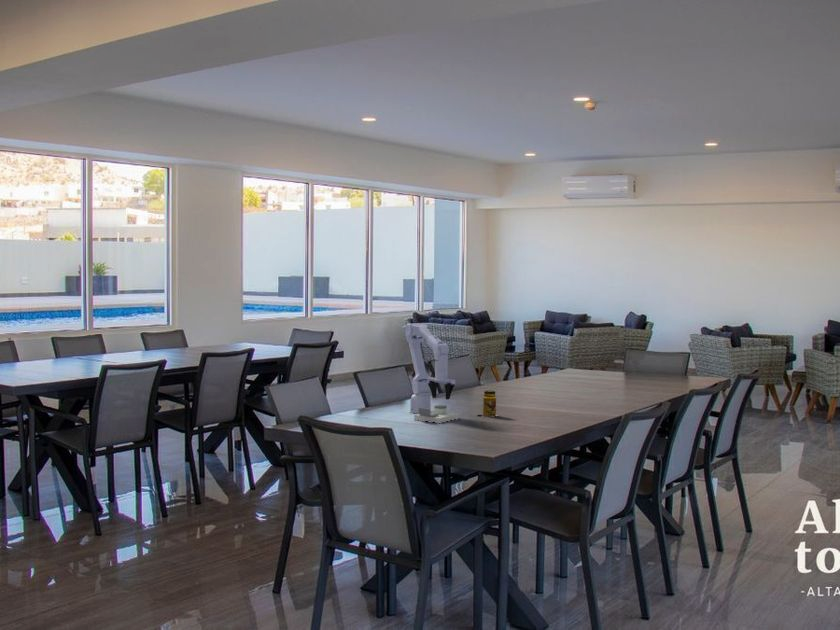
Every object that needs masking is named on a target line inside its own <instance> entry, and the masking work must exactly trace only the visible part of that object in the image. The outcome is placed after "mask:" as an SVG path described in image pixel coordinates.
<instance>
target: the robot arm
mask: <svg viewBox="0 0 840 630" xmlns="http://www.w3.org/2000/svg"><path fill="white" fill-rule="evenodd" d="M428 327H429V326H428V325H427V324H426V322H421V323H416V322H413V323H410V322H409V323H406V325H405V328H404V336H405V339H406V342H407V343H408V346H409V351H410V355H411V360H412V365H413V369H414V372H415V373H414V374H415V376H414V377H413V379H412V380H411V384H412V385H411V389H412V393H413V394H412V395H411V397H410V408H409V409H410V411H409V413H410V414H415V415H416V414H419V408H426V409H431V410H432V407H431V405H432V402H431V401H432V400H431V399H432V398H433V399H434V398H437V393H438V392H437V390H438V385H439V384H440V383H441V384H444V390H445V400H450V398H451V395H452V392H453V390H454V388H455V386H456V379H452V378H448V375H449V374H448V372H449V371H448V366H449V365H448V363H449V359H448V358H449V356H450V354H451V347H450V344H449V343H448V342H443V340H441V339H440V338H439V337H438V336H437V334H436V335H435V334H434V335H433V334H432V333H431V331H430V330H429V329H428ZM424 340H426V343H427V345H428V346H429V348H431V350H432V353H433V358H434V360H435V361H434V362H435V370H434V371H435V372H434V373H435V375H434V377H432V376H430V375H429V374H427V370H426V367H425V362H424V358H423V354H422V348H421V342H423V341H424Z"/></svg>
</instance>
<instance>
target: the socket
mask: <svg viewBox="0 0 840 630" xmlns="http://www.w3.org/2000/svg"><path fill="white" fill-rule="evenodd" d="M431 412H432V413H435V410H431ZM413 416H414V417H413V420H414V421H417V420H420V421H419V422H425V421H428V422H427V423H432V422H435V423H434V424H439V423H440V424H443V423H442V422H444V423H447V422H446V421H448V422H451V421H450V420H452V421H455V420H454V419H456V420H459V419H460V413H456V412H450V411H447V412H446V414H443V415H440V414H439V415H438V416H433V417H427V416H420V415H419V414H416V413H415V414H414V415H413ZM458 418H459V419H458Z"/></svg>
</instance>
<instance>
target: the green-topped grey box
mask: <svg viewBox="0 0 840 630" xmlns="http://www.w3.org/2000/svg"><path fill="white" fill-rule="evenodd" d="M447 410H448V409H447V405H442V404H437V405H434V411H435V413H439V414H440V415H443V414H446V412H448V411H447Z"/></svg>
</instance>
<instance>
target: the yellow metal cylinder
mask: <svg viewBox="0 0 840 630" xmlns="http://www.w3.org/2000/svg"><path fill="white" fill-rule="evenodd" d="M482 399H483V402H482V403H483V405H482V406H483V407H482V408H483V410H482V414H483V416H482V417H484V416H485V418H491V417H492V418H496V417H498V416H499V414H497V397H496V391H495V390H484V394H483V397H482ZM495 416H496V417H495Z"/></svg>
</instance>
